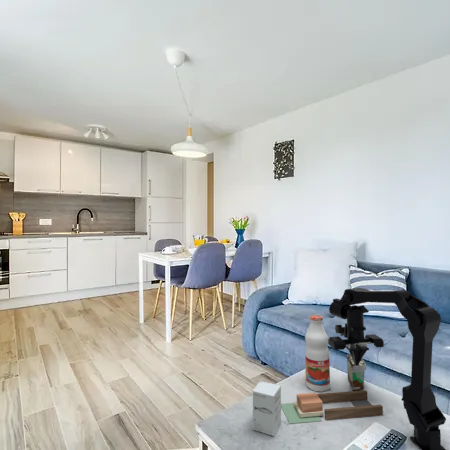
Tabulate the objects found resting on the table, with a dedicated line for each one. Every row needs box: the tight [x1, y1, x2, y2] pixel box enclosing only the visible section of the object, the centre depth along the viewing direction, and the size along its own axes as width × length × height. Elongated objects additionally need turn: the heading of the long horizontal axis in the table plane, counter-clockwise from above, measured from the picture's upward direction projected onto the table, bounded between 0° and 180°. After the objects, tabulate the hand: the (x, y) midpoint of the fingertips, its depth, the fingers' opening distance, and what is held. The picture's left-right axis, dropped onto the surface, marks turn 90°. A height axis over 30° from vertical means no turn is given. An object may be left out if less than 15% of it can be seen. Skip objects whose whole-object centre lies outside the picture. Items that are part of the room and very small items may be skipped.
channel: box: [316, 389, 384, 421], centre depth 107 cm, size 10×20×3 cm, turn 96°
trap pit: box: [350, 400, 373, 407], centre depth 107 cm, size 7×6×1 cm
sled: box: [293, 392, 324, 418], centre depth 105 cm, size 7×8×4 cm
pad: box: [281, 402, 323, 425], centre depth 105 cm, size 11×11×1 cm
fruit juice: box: [304, 314, 331, 393], centre depth 122 cm, size 9×9×28 cm
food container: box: [346, 354, 367, 391], centre depth 122 cm, size 12×6×10 cm, turn 168°
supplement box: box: [252, 380, 282, 437], centre depth 98 cm, size 7×7×13 cm
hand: (356, 365), depth 111 cm, fingers closed
